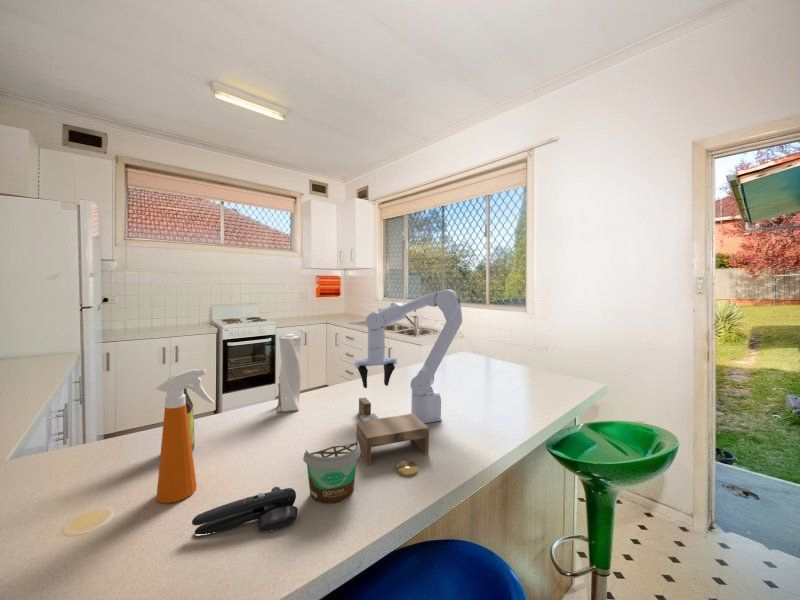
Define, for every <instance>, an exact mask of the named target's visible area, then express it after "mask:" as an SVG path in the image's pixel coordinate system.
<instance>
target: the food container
mask: <svg viewBox="0 0 800 600" xmlns="http://www.w3.org/2000/svg"><path fill="white" fill-rule="evenodd" d="M360 453H361V451H360V446H359V443H358V440H357V439H355V443H350V444H346V445H336V446H331V447H328V448H325V449H321V450H319V451H314V452H309V451H308V450H307V449H305V452H304V454H303V459H302V460H303V462H304V463H305V464H306V467H307V468H306V469H307V479H308V487H309V495H310V497H311V499H312V500H314V501H315V502H318V503H321V504H329V505H331V504H336V503H337V504H338V503H340V502H343V501H345V500H347V499H348V498H349V497H350V496H351V495H352V494H353V492H354V490H355V478H356V471H357V462H358V459H359V458H360V456H361V455H360Z"/></svg>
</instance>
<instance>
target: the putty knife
mask: <svg viewBox="0 0 800 600" xmlns="http://www.w3.org/2000/svg"><path fill="white" fill-rule="evenodd" d="M358 414H359V420H360V422H361V421H367V420H374V419H380V418H379V417H378V416H377V415H376V413H372V402H371V401H370V400H369V399H368V398H367V397H365V396H364V397H359V398H358Z"/></svg>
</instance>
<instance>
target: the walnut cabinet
mask: <svg viewBox="0 0 800 600" xmlns="http://www.w3.org/2000/svg"><path fill="white" fill-rule="evenodd" d="M355 423H356V427H355V428H356V431H355V433H356V437H355V438H356V439H357V440H358V443H359V446H360V451H361V453H360V456H361V459H362V460H363V462H364V463H365V465H366V467H368V466H371V465H372V448H375V447H380V446H386V445H391V444H396V443H403V442H408V441H412V442H413V443H414V444H415V445H416V446H417V447H418V448H419V449H420V450H421V451H422V452H423V453H424V455H426V454H429V452H430V451H429V448H430V445H429V443H430V427H429V426H428V425H427V423H423V422H422V421H421V420H420V419H419V418H418V417H416V416H415V415H414V414H411V413H407V414H402V415H396V416H395V415H393V416H387V417H382V418H379V419H374V420H367V421H361V420H360V421H357V422H355ZM356 439H355V440H356Z"/></svg>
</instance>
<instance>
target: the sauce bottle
mask: <svg viewBox="0 0 800 600" xmlns="http://www.w3.org/2000/svg"><path fill="white" fill-rule="evenodd" d="M174 376H175V375H172V376H170V377H168V378H167V380H168V379H170V378H172V377H174ZM184 394H185V399H186V409H187V416H188V424H189V431H190V439H191V447H192V451H193V450H194V449H195V442H196V441H195V439H196V437H195V422H194V421H195V418H194V404H193V402H192V399H191V398H190V396H189V393H188V388H185V389H184Z"/></svg>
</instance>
